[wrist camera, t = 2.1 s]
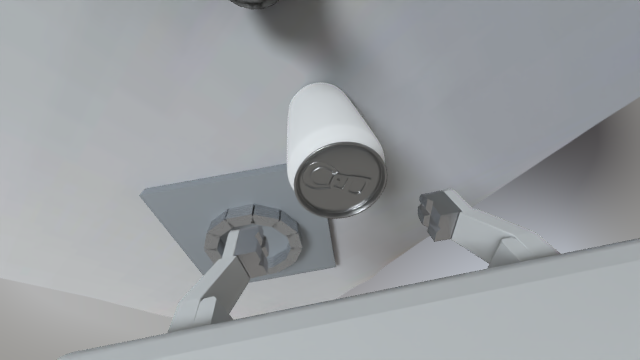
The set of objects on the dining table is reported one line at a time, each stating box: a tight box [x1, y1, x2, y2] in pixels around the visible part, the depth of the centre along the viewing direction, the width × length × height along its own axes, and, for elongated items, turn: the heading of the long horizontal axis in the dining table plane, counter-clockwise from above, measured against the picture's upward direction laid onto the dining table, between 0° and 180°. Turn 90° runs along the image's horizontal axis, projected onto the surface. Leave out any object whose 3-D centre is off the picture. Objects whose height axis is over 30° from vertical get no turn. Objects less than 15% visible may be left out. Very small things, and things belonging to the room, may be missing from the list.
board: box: [139, 164, 336, 283], centre depth 32 cm, size 20×20×1 cm
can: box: [287, 83, 387, 219], centre depth 18 cm, size 6×6×12 cm
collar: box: [204, 204, 302, 275], centre depth 30 cm, size 12×12×2 cm
